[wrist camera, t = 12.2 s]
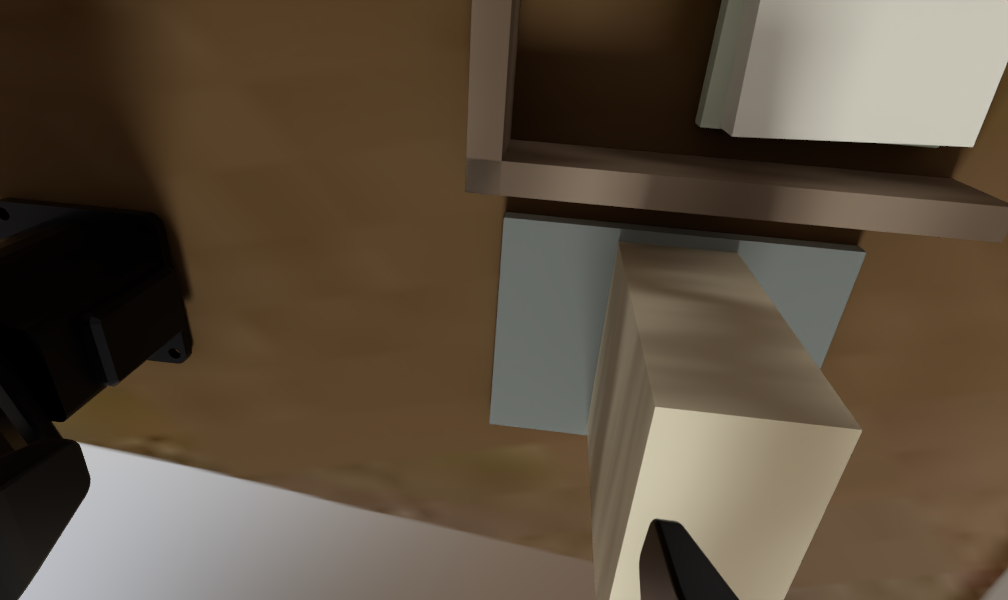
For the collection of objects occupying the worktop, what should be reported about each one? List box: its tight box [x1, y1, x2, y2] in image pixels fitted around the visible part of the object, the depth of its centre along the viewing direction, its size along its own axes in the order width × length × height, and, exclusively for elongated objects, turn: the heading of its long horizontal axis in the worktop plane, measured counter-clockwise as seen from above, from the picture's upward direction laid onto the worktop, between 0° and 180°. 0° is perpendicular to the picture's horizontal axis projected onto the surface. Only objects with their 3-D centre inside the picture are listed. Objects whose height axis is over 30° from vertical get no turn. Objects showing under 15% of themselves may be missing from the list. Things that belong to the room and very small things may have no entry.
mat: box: [490, 212, 866, 435], centre depth 21 cm, size 12×9×1 cm
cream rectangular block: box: [587, 242, 862, 600], centre depth 17 cm, size 4×8×9 cm, turn 176°
